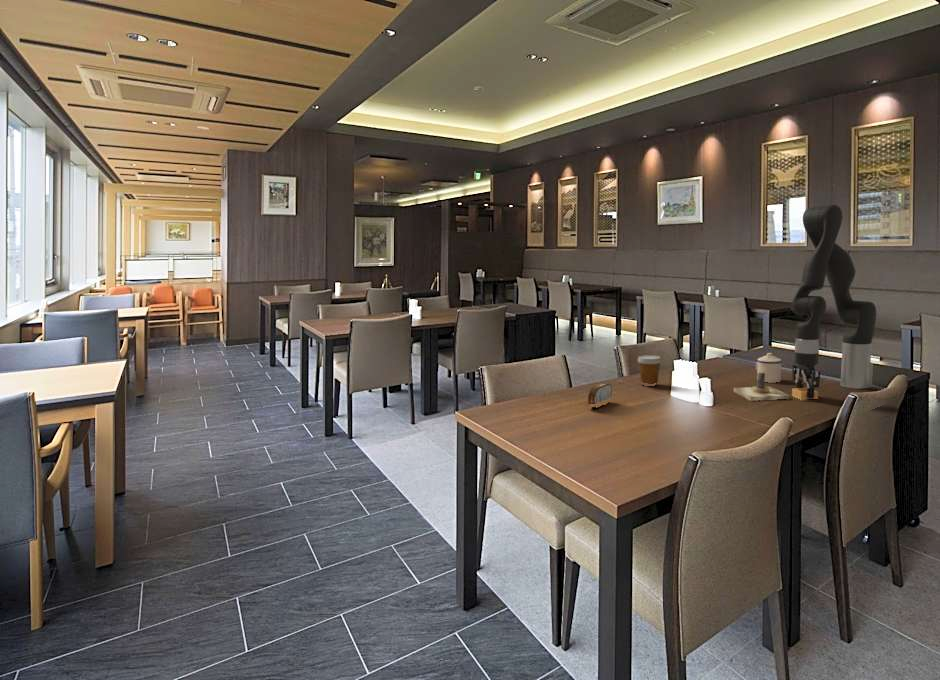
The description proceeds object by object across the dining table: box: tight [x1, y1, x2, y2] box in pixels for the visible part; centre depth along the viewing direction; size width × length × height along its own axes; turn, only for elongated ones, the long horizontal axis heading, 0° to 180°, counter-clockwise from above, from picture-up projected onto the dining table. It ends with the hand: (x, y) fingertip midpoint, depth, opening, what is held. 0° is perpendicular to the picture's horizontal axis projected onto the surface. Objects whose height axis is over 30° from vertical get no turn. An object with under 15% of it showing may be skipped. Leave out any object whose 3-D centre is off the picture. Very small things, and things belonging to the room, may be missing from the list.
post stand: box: [733, 373, 791, 402], centre depth 211 cm, size 14×14×8 cm
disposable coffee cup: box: [637, 354, 662, 384], centre depth 235 cm, size 10×10×12 cm
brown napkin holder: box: [587, 381, 613, 405], centre depth 207 cm, size 15×3×8 cm, turn 141°
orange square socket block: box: [791, 387, 819, 401], centre depth 205 cm, size 6×6×3 cm
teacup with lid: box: [755, 352, 783, 384], centre depth 234 cm, size 12×9×12 cm
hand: (804, 395), depth 205 cm, fingers open, 6 cm apart
